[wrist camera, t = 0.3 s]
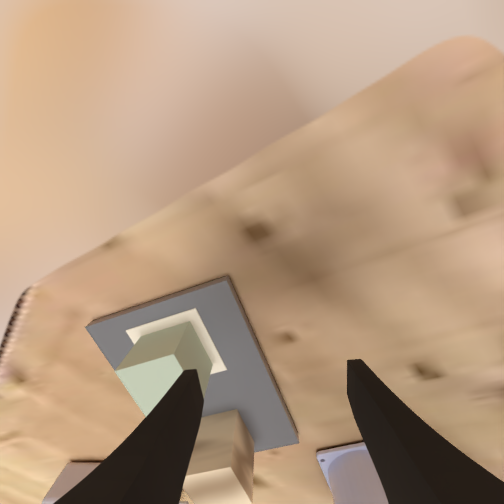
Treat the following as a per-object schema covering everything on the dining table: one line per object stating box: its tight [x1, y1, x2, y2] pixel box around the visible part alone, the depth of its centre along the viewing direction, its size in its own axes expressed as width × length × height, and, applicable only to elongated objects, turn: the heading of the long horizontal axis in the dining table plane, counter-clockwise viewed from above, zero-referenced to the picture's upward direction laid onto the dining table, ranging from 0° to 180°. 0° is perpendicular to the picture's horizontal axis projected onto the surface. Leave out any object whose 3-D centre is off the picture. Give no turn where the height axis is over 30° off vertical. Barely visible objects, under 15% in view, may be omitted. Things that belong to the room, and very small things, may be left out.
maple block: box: [183, 409, 254, 504], centre depth 23 cm, size 5×5×5 cm
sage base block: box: [115, 321, 213, 416], centre depth 20 cm, size 5×5×4 cm
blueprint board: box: [85, 276, 299, 452], centre depth 24 cm, size 20×14×1 cm
